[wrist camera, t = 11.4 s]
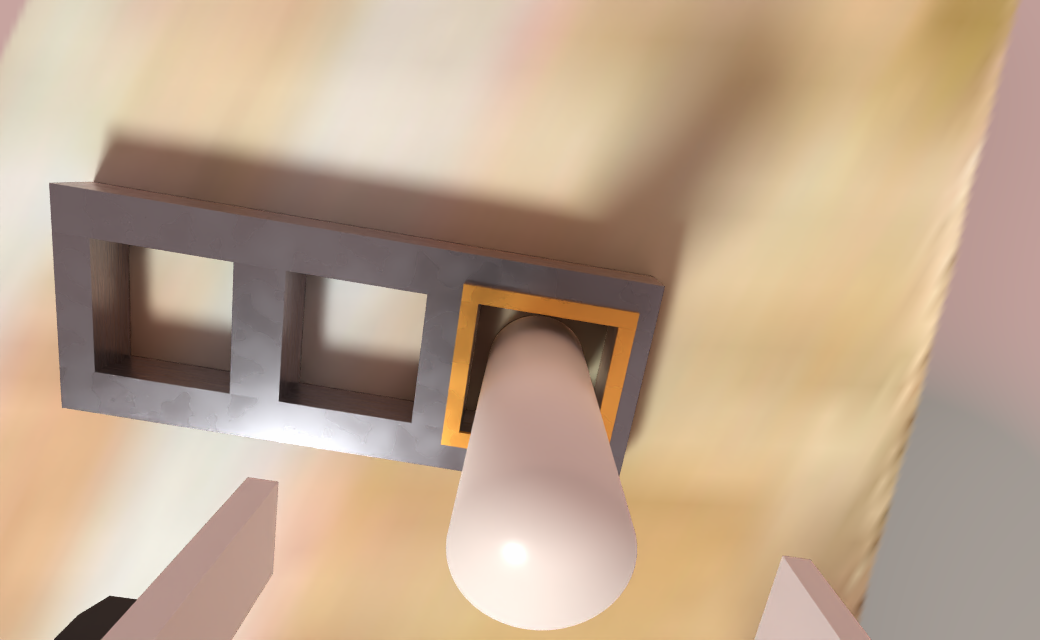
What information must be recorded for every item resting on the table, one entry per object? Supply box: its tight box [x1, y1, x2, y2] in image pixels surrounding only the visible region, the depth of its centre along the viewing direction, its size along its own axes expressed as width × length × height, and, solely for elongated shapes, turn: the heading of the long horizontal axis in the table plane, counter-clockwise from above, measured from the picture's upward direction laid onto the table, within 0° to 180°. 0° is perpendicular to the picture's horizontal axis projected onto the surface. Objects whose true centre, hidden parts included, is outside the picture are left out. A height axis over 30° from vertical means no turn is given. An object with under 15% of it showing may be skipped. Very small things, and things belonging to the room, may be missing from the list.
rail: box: [49, 182, 665, 475], centre depth 27 cm, size 28×11×3 cm, turn 81°
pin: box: [446, 316, 637, 630], centre depth 22 cm, size 5×5×15 cm
